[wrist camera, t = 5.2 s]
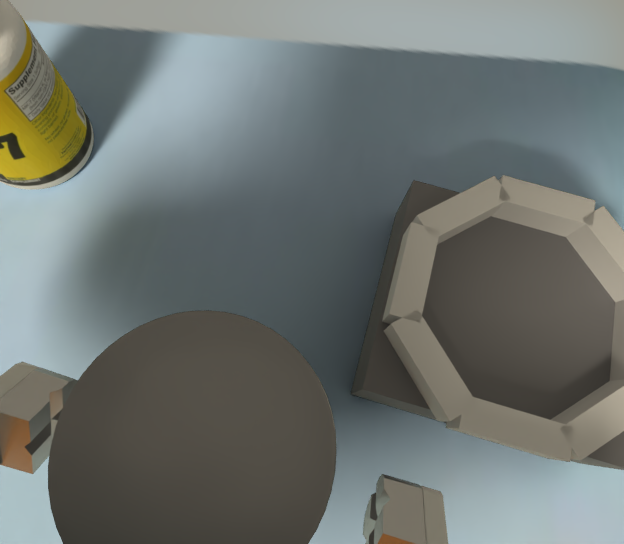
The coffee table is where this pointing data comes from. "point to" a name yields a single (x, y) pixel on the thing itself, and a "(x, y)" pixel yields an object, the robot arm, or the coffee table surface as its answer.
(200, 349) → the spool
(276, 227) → the coffee table surface
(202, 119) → the coffee table surface
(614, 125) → the coffee table surface
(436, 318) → the octagonal ring tray
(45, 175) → the supplement bottle
